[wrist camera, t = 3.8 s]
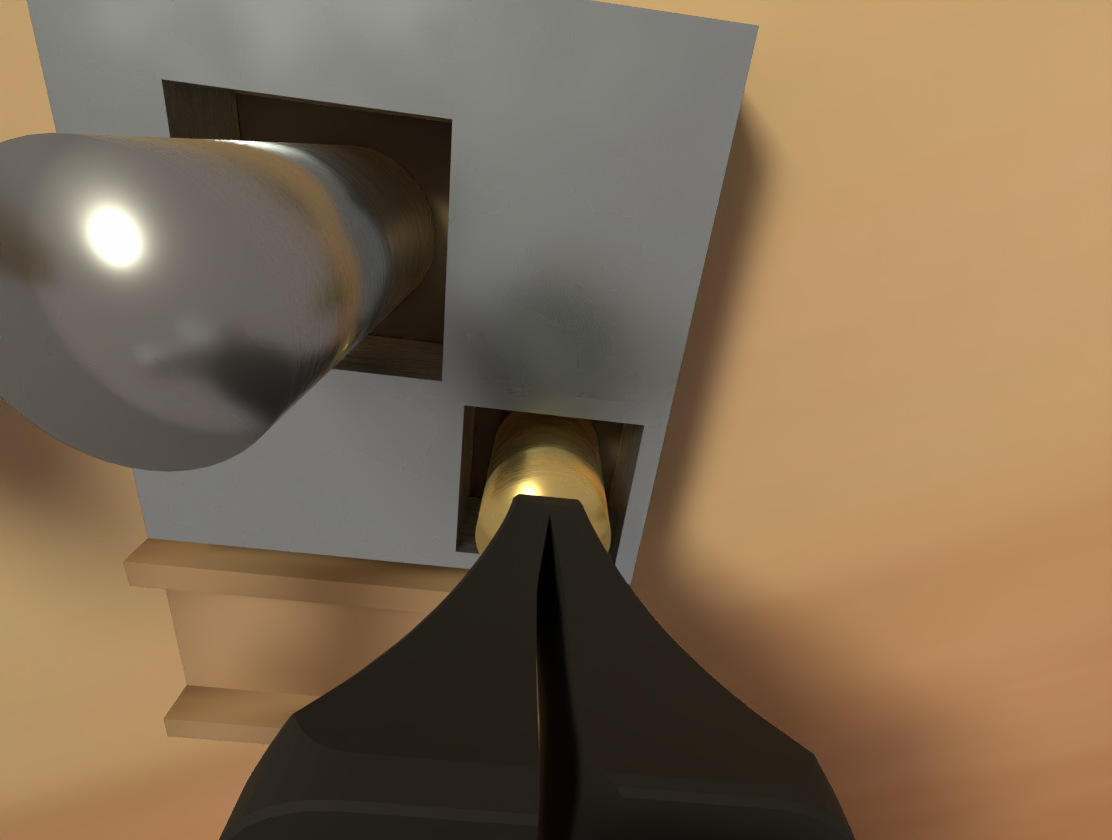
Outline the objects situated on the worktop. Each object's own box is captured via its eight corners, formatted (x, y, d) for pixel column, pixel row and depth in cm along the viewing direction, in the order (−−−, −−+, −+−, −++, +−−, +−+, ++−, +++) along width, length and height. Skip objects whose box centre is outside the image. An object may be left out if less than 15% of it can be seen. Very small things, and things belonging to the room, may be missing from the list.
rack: (582, 550, 17) (585, 602, 15) (554, 707, 20) (554, 769, 18) (175, 509, 16) (122, 558, 14) (208, 678, 19) (168, 738, 17)
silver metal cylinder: (438, 156, 13) (277, 160, 5) (433, 315, 14) (304, 487, 7) (272, 134, 12) (-127, 107, 5) (286, 297, 14) (-9, 454, 7)
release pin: (605, 406, 15) (621, 488, 11) (589, 496, 16) (599, 597, 12) (498, 394, 15) (480, 473, 11) (490, 486, 16) (471, 584, 12)
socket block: (719, 50, 12) (759, 25, 9) (620, 526, 17) (630, 584, 14) (118, -39, 11) (6, -88, 9) (205, 484, 16) (147, 537, 14)
